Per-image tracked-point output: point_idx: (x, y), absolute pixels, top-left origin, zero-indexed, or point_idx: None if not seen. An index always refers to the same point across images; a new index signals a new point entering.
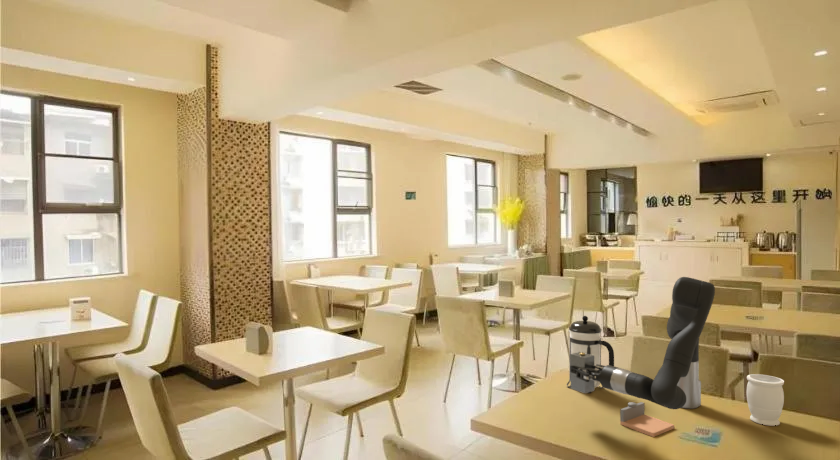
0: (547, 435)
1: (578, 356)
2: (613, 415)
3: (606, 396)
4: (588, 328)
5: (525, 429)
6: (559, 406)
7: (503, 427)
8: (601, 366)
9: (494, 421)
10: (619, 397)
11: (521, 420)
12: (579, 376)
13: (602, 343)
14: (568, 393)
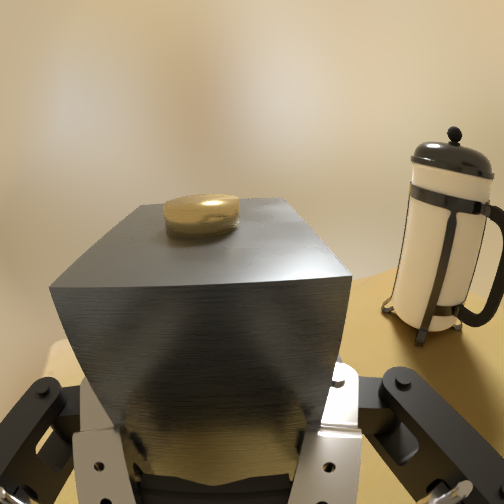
0: None
1: (102, 240)
2: (406, 491)
3: (452, 367)
4: (458, 155)
5: None
6: None
7: None
8: (421, 430)
9: (60, 363)
10: (480, 377)
11: None
12: (58, 444)
13: (492, 214)
14: (365, 334)
